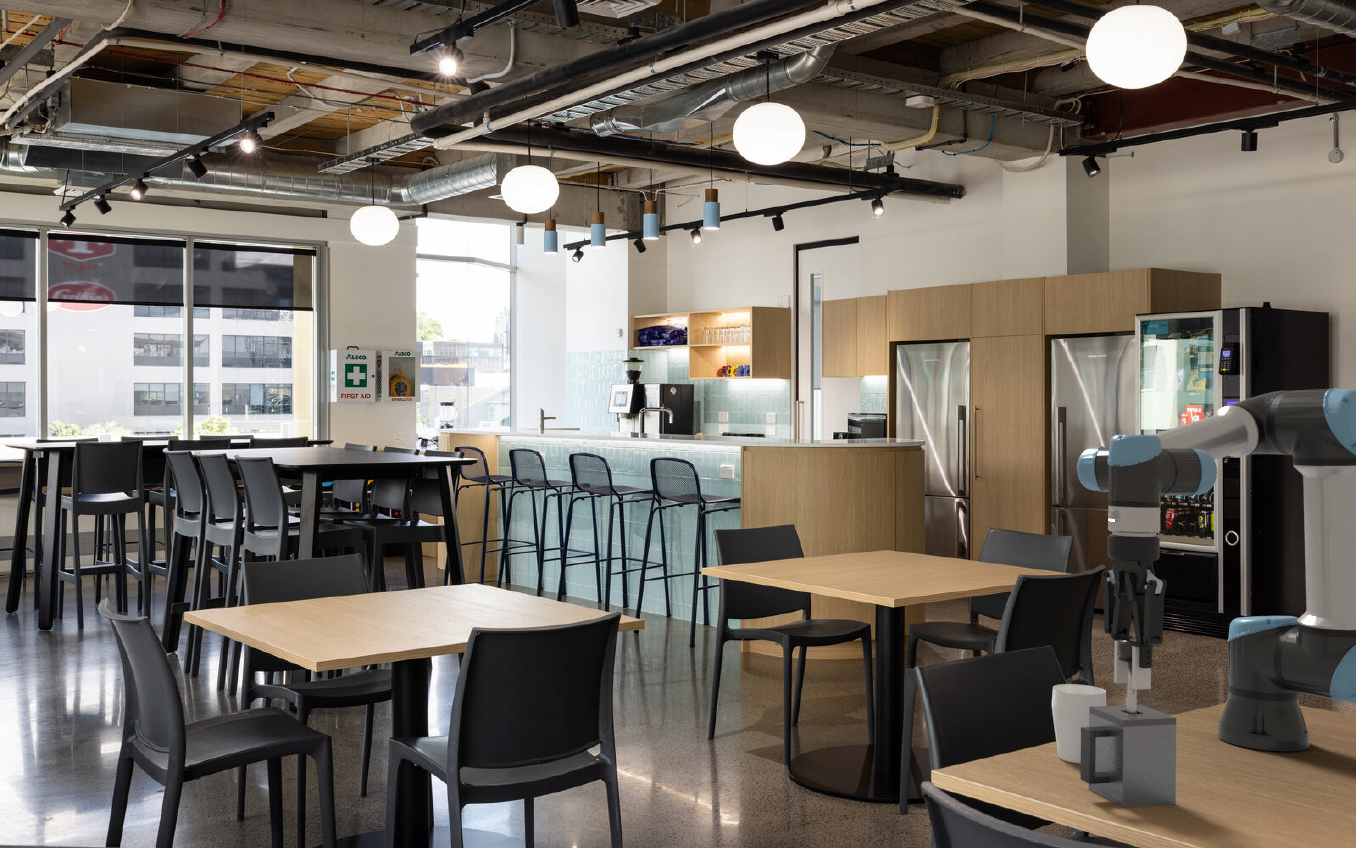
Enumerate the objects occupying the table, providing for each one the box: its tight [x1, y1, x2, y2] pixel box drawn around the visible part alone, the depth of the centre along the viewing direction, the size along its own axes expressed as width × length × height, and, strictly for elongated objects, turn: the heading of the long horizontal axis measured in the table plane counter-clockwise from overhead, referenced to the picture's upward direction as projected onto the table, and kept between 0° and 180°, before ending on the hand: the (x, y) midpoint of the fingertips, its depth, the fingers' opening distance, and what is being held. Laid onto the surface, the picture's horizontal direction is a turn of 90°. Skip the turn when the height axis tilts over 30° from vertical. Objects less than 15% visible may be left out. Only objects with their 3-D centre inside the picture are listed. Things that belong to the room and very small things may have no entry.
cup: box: [1051, 683, 1108, 765], centre depth 199 cm, size 9×9×12 cm
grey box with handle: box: [1080, 704, 1177, 808], centre depth 177 cm, size 12×9×13 cm
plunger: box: [1119, 638, 1138, 714], centre depth 178 cm, size 6×6×20 cm
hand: (1132, 685), depth 178 cm, fingers closed on plunger, 4 cm apart
